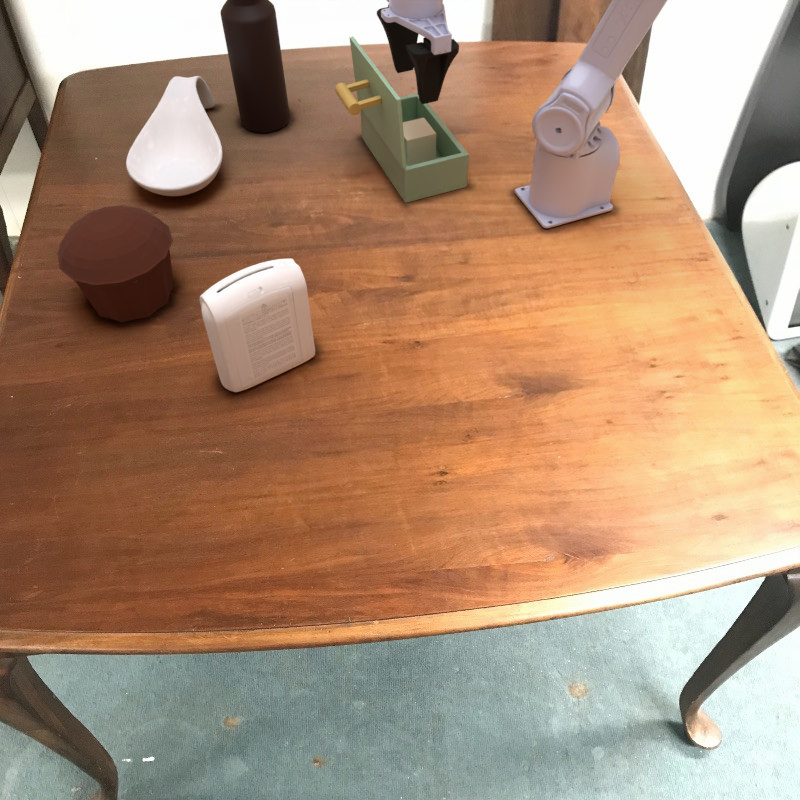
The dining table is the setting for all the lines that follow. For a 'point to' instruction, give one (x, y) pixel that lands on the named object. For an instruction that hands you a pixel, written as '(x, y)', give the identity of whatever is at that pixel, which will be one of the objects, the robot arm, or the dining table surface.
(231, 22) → the bottle
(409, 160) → the block
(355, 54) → the compartment door
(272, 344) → the photo printer
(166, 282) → the muffin
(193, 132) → the spoon rest
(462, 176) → the compartment
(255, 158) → the dining table surface
